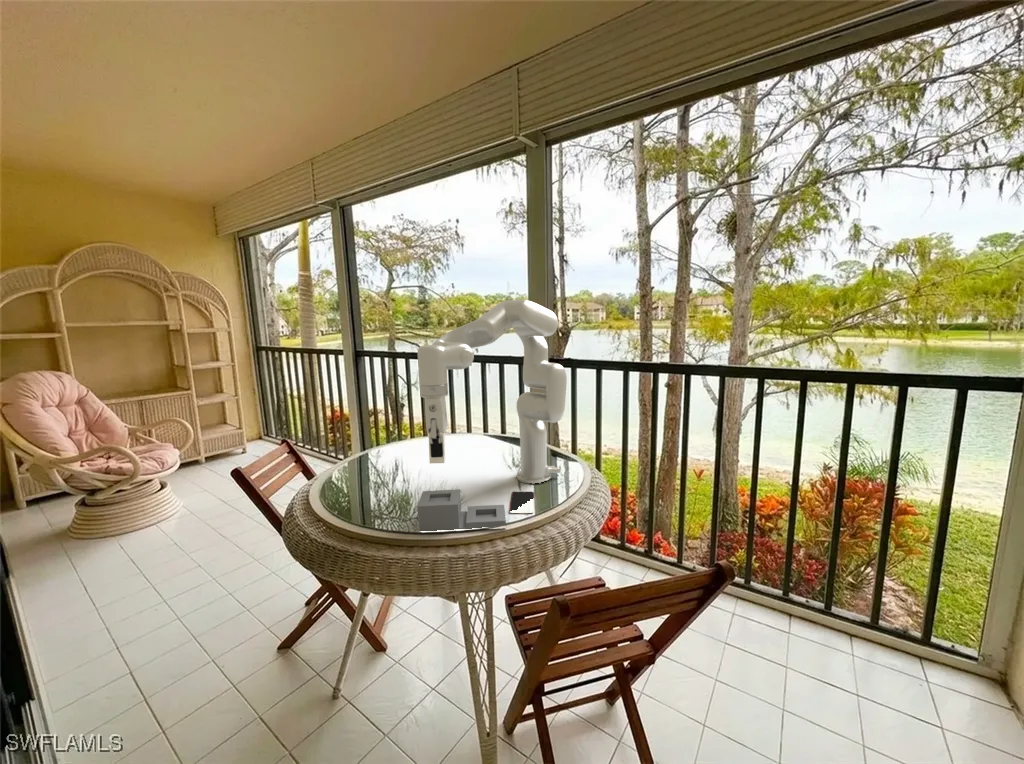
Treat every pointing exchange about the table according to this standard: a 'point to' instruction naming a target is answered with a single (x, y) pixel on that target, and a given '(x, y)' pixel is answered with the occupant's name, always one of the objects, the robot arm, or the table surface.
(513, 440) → the table surface
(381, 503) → the table surface
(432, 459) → the plug
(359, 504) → the table surface
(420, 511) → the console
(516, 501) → the smartphone
